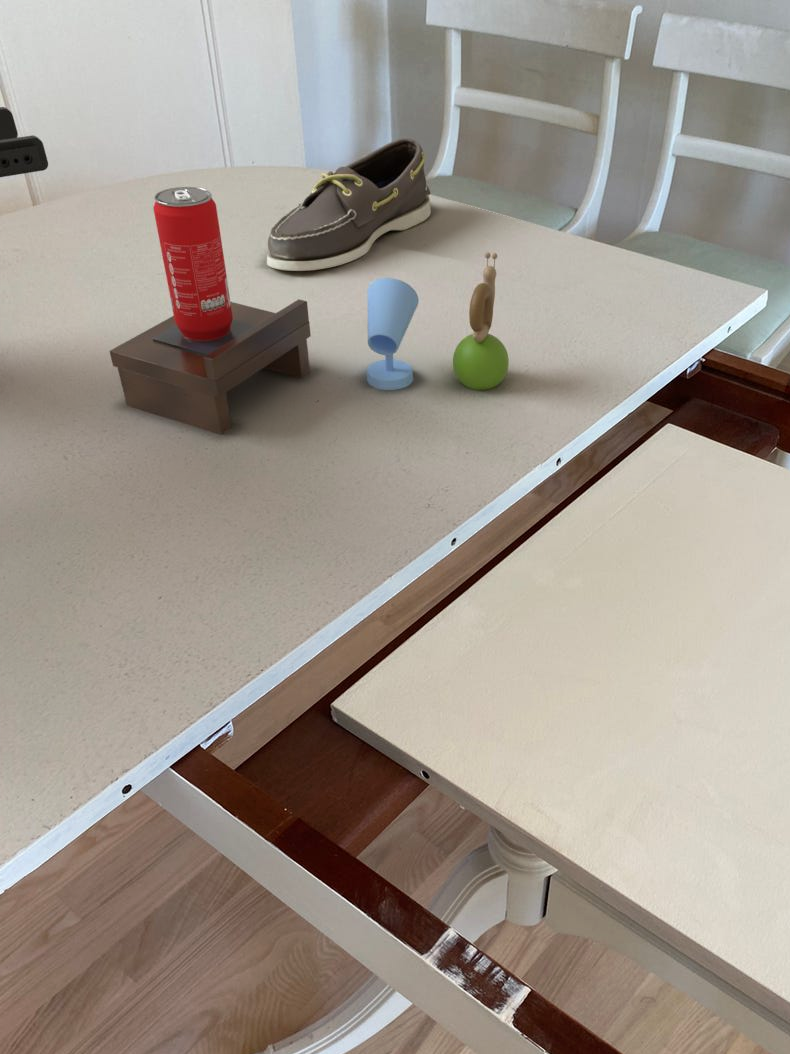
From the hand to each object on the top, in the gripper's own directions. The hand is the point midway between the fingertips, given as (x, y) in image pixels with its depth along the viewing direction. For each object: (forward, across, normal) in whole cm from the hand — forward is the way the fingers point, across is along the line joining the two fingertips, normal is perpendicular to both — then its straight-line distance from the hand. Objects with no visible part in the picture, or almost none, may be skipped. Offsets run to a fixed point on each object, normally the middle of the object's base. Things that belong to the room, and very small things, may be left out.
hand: (28, 136), depth 73 cm
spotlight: (+26, +7, -25) cm, 37 cm away
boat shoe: (+41, -29, -25) cm, 56 cm away
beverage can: (+11, 0, -18) cm, 21 cm away
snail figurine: (+34, +12, -25) cm, 43 cm away
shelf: (+11, +1, -24) cm, 27 cm away
